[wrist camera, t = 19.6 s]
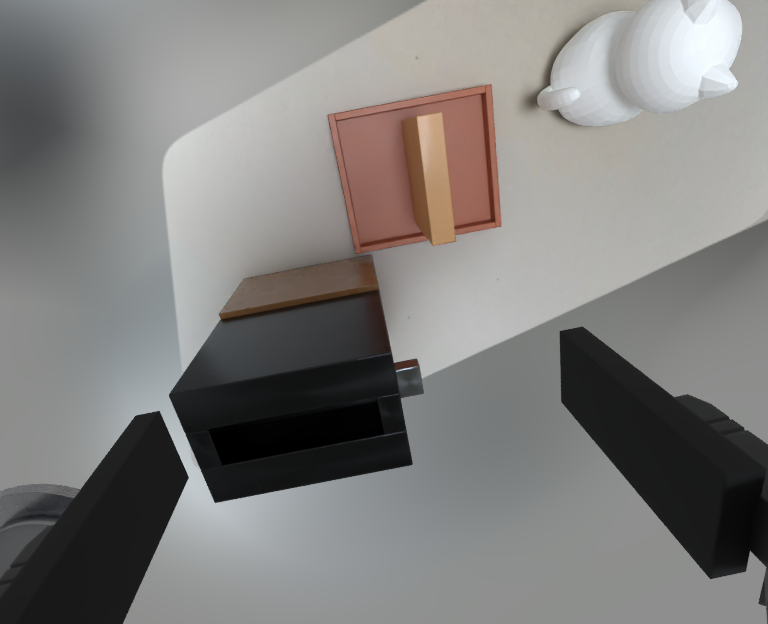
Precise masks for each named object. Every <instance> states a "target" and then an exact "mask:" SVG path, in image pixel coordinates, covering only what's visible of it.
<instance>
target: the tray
mask: <svg viewBox="0 0 768 624" xmlns="http://www.w3.org/2000/svg"><path fill="white" fill-rule="evenodd" d="M436 112H442V114H443V124H444V133H445V143H446V152H447V162H448V171H449V181H450V190H451V200H452V209H453V219H454V228H455V235H459V234H464V233H469V232H475V231H480V230H485V229H490V228H495V227H501V215H500V200H499V186H498V171H497V157H496V142H495V128H494V114H493V99H492V85H491V84H490V85H485V86H479V87H474V88H469V89H463V90H458V91H453V92H447V93H442V94H437V95H431V96H426V97H421V98H415V99H410V100H405V101H399V102H394V103H389V104H383V105H378V106H373V107H367V108H362V109H357V110H351V111H346V112H341V113H335V114H330V115H328V118H329V123H330V128H331V133H332V138H333V143H334V148H335V153H336V158H337V163H338V168H339V173H340V177H341V182H342V187H343V192H344V197H345V202H346V207H347V212H348V217H349V222H350V227H351V232H352V237H353V241H354V246H355V251H356V254H359V253H364V252H369V251H374V250H380V249H385V248H390V247H395V246H401V245H406V244H411V243H416V242H422V241H427V240H428V239H427V238H426V236H425V235H424V234H423V232H422V231H421V230H420V229H419V227H418V226H417V225H416V223H415V217H414V210H413V203H412V196H411V189H410V181H409V174H408V167H407V160H406V153H405V146H404V139H403V131H402V124H401V120H404V119H408V118H412V117H415V116H420V115H425V114H431V113H436Z"/></svg>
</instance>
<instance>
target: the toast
mask: <svg viewBox="0 0 768 624" xmlns="http://www.w3.org/2000/svg"><path fill="white" fill-rule="evenodd" d="M401 124H402V131H403V139H404V146H405V153H406V160H407V167H408V174H409V181H410V189H411V196H412V203H413V210H414V217H415V223H416V225H417V226H418V227H419V229H420V230H421V231H422V232H423V234H424V235H425V236H426V238H427V239H428V240H429V242H430V243H431V244H432V245H433V246H434V245H440V244H445V243H451V242H455V241H456V238H455V228H454V219H453V209H452V200H451V190H450V181H449V171H448V162H447V152H446V143H445V133H444V124H443V114H442V112H436V113H431V114H425V115H420V116H415V117H412V118H408V119H404V120H401Z"/></svg>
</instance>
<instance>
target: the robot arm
mask: <svg viewBox="0 0 768 624" xmlns="http://www.w3.org/2000/svg"><path fill="white" fill-rule="evenodd" d="M560 364H561V401H562V403H563V404H564V405H565V407H566V408H567V409H568V410H569V412H570V413H571V414H572V415H573V416H574V417H575V419H576V420H577V421H578V422H579V423H580V425H581V426H582V427H583V428H584V429H585V431H586V432H587V433H588V434H589V435H590V437H591V438H592V439H593V440H594V441H595V442H596V444H597V445H598V446H599V447H600V448H601V449H602V451H603V452H604V453H605V454H606V456H607V457H608V458H609V459H610V460H611V462H612V463H613V464H614V465H615V466H616V467H617V469H618V470H619V471H620V472H621V473H622V475H623V476H624V477H625V478H626V479H627V480H628V482H629V483H630V484H631V485H632V487H633V488H634V489H635V490H636V491H637V493H638V494H639V495H640V496H641V497H642V498H643V500H644V501H645V502H646V503H647V504H648V506H649V507H650V508H651V509H652V510H653V512H654V513H655V514H656V515H657V516H658V518H659V519H660V520H661V521H662V522H663V523H664V525H665V526H666V527H667V528H668V529H669V531H670V532H671V533H672V534H673V535H674V537H675V538H676V539H677V540H678V541H679V543H680V544H681V545H682V546H683V547H684V548H685V550H686V551H687V552H688V553H689V554H690V556H691V557H692V558H693V559H694V560H695V562H696V563H697V564H698V565H699V566H700V568H701V569H702V570H703V571H704V572H705V573H706V575H707V576H708V577H709V578H710V579H713V578H718V577H722V576H727V575H732V574H737V573H741V572H745V571H746V568H747V563H748V558H749V553H750V551H751V552H752V553H753V554H754V555H755V556H756V557H757V558H758V559H759V560H760V561H761V562H762V563H763V564H764V565H765V566H766V567H767V568H766V573H765V577H764V581H763V586H762V590H761V595H760V599H759V604H761V605H764V606H766V610H767V623H768V444H766V443H765V442H763V441H762V440H761V439H759V438H757V437H756V436H755V435H754V434H752V433H751V432H749V431H745V430H744V427H742V426H741V425H740V424H738V423H737V422H735V421H734V420H730V419H729V417H728V416H727V415H725V414H724V413H723V412H721V411H720V410H719V409H717V408H716V407H714V406H713V405H712V404H709V403H707V402H705V401H702V400H700V399H698V398H695V397H693V396H690V395H688V394H687V395H683V396H678V397H673V396H672V395H670V394H669V393H668V392H667V391H665V390H664V389H663V388H661V387H660V386H659V385H657V384H656V383H655V382H653V381H652V380H651V379H650V378H648V377H647V376H646V375H644V374H643V373H642V372H641V371H639V370H638V369H637V368H635V367H634V366H633V365H631V364H630V363H629V362H628V361H626V360H625V359H624V358H622V357H621V356H620V355H619V354H617V353H616V352H615V351H614V350H612V349H611V348H610V347H608V346H607V345H606V344H604V343H603V342H602V341H601V340H599V339H598V338H597V337H595V336H594V335H593V334H592V333H590V332H589V331H588V330H586V329H585V328H584V327H578V328H573V329H568V330H563V331H560ZM188 478H189V477H188V475H187V472H186V470H185V468H184V466H183V463H182V461H181V459H180V456H179V454H178V452H177V450H176V447H175V445H174V443H173V441H172V438H171V436H170V434H169V432H168V429H167V427H166V425H165V423H164V420H163V418H162V416H161V414H160V411H157V412H152V413H147V414H142V415H137V416H135V417H134V419H133V420H132V421H131V423H130V424H129V425H128V427H127V428H126V429H125V431H124V432H123V433H122V435H121V436H120V437H119V439H118V440H117V441H116V443H115V444H114V445H113V447H112V448H111V449H110V451H109V452H108V454H107V455H106V456H105V458H104V459H103V460H102V461H101V463H100V464H99V465H98V467H97V468H96V470H95V471H94V472H93V474H92V475H91V476H90V478H89V479H88V480H87V482H86V483H85V484H84V486H83V487H82V488H81V490H80V491H79V492H78V494H77V495H76V496H75V498H74V499H73V500H72V502H71V503H70V504H69V506H68V507H67V508H66V510H65V511H64V512H63V514H62V515H61V516H60V518H58V517H51V516H30V517H24V518H20V519H17V520H14V521H12V522H9V523H7V524H6V525H4V526H3V527H1V528H0V624H123V622H124V620H125V617H126V615H127V613H128V611H129V608H130V606H131V604H132V602H133V600H134V598H135V595H136V593H137V591H138V589H139V586H140V584H141V582H142V580H143V578H144V575H145V573H146V571H147V569H148V566H149V564H150V562H151V560H152V558H153V555H154V553H155V551H156V549H157V547H158V544H159V542H160V540H161V538H162V535H163V533H164V531H165V529H166V526H167V524H168V522H169V520H170V518H171V516H172V513H173V511H174V509H175V506H176V505H177V502H178V500H179V498H180V496H181V493H182V491H183V489H184V487H185V484H186V482H187V480H188Z"/></svg>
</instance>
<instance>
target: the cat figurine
mask: <svg viewBox="0 0 768 624" xmlns="http://www.w3.org/2000/svg"><path fill="white" fill-rule="evenodd" d="M741 37H742V21H741V17H740V14H739V12H738V11H737V9H736V8H735V7H734V6H733V4H732V3H730V2H729V1H728V0H651V1H649V2H648V3H647V4H646V5H644V6H643V7H642V8H641V9H640V10H639V11H638V12H634V11H616V12H611V13H606V14H604V15H602V16H600V17H598V18H597V19H595V20H593V21H591V22H589V23H588V24H587V25H585V26H584V27H583V28H582V29H581V30H579V31H578V32H577V33H576V34H575V35H574V36H573V37H572V38H571V39H570V41H569V42H568V43H567V44H566V45H565V46H564V47H563V49H562V50H561V52H560V53H559V54H558V56H557V58H556V60H555V62H554V64H553V67H552V71H551V85H550V86H548V87H547V88H545V89H544V90H542V91H541V92H540V93H539V95H538V98H537V103H538V105H539V107H540V108H541V109H543V110H548V111H549V110H557V109H558V110H559V112H560V113H561V115H562V116H563V117H564V118H565V119H567V120H568V121H571V122H574V123H576V124H579V125H582V126H606V125H613V124H617V123H621V122H624V121H627V120H629V119H631V118H633V117H635V116H637V115H638V114H639V113H641V112H642V111H643V110H647V111H650V112H654V113H669V112H673V111H677V110H681V109H683V108H685V107H687V106H689V105H691V104H693V103H695V102H697V101H699V100H700V99H702V98H704V99H706V98H711V97H717V96H720V95H722V94H725V93H728V92H731V91H733V90H734V89H735V88H736V86H737V84H738V82H737V81H736V79H735V77H734V76H733V74H732V73H731V72H730V71H729V69H730V67H731V65H732V63H733V61H734V59H735V57H736V54H737V52H738V49H739V46H740V42H741Z"/></svg>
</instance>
